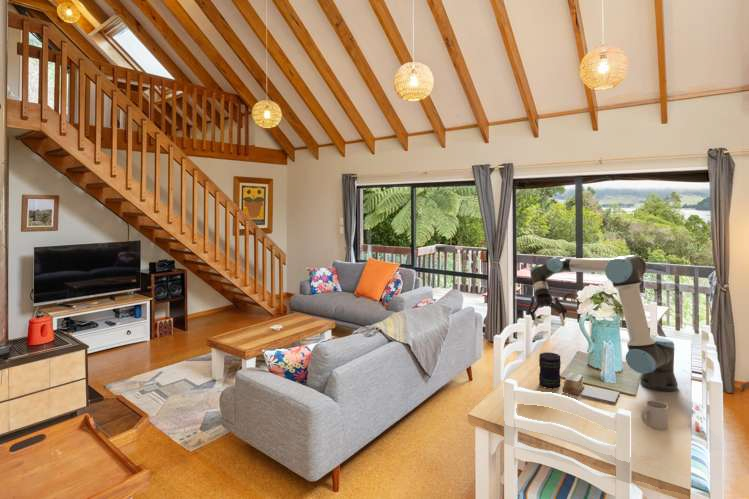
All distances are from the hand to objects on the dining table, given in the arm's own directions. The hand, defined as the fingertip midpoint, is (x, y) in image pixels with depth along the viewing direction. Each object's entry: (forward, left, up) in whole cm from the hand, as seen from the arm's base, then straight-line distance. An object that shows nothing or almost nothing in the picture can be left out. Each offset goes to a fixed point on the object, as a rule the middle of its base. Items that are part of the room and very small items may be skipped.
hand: (550, 325), depth 224 cm
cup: (-49, +33, -26) cm, 65 cm away
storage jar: (-4, +15, -26) cm, 30 cm away
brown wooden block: (-15, +15, -26) cm, 34 cm away
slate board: (-27, +15, -26) cm, 40 cm away
